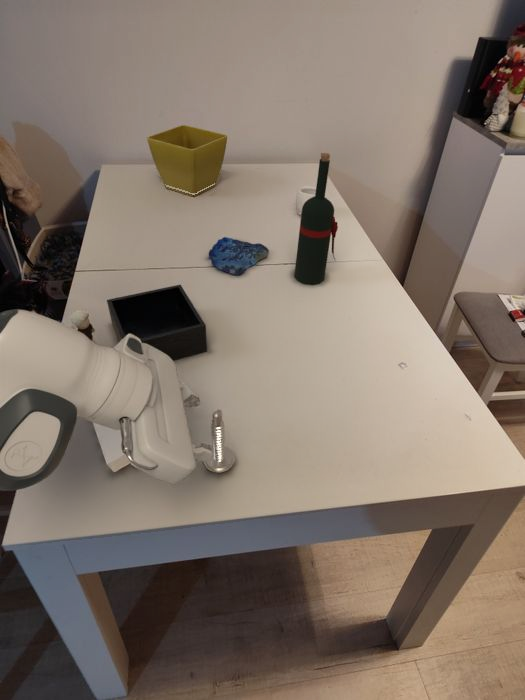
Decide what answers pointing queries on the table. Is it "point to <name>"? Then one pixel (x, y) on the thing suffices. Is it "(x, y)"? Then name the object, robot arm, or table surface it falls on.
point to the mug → (304, 196)
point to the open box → (160, 321)
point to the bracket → (111, 447)
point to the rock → (236, 255)
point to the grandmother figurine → (82, 323)
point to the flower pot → (188, 157)
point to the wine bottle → (316, 231)
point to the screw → (219, 447)
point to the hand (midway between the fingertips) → (202, 427)
